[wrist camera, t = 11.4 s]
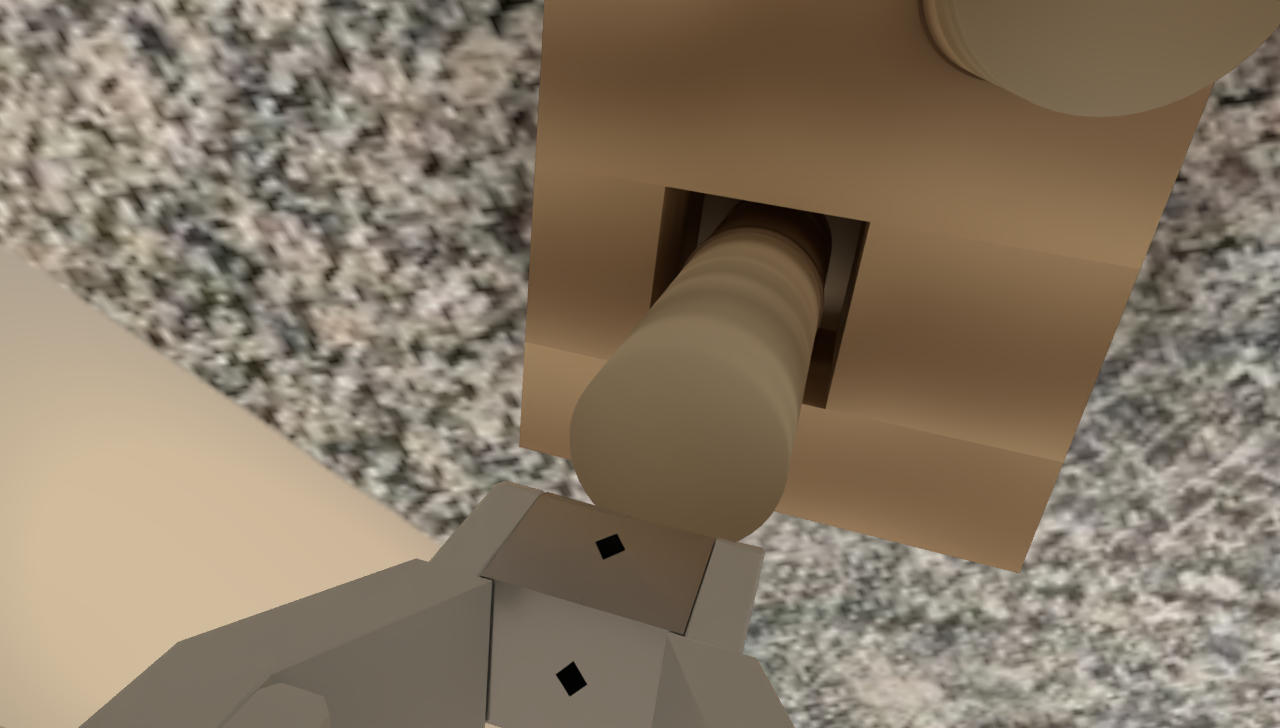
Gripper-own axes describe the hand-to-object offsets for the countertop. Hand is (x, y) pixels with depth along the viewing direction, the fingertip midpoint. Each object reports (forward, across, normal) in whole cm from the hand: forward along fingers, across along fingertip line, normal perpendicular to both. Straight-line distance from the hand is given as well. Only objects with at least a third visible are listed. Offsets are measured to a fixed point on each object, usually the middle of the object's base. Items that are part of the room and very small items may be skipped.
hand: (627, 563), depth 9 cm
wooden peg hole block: (+16, -1, -2) cm, 16 cm away
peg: (+14, 0, 0) cm, 14 cm away
